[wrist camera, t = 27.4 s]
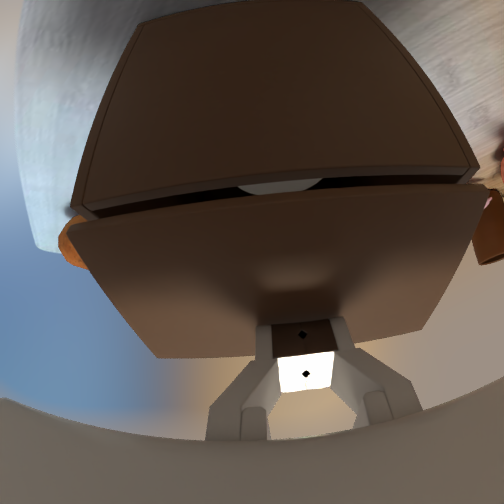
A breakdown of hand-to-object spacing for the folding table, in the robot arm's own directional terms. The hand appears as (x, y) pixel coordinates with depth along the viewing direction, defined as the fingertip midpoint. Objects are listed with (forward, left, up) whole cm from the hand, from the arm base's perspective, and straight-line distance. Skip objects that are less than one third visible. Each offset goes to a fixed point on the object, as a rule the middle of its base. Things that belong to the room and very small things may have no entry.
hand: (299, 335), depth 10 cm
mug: (+9, +40, -15) cm, 43 cm away
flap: (-1, -1, -1) cm, 2 cm away
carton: (+3, +1, -15) cm, 15 cm away
